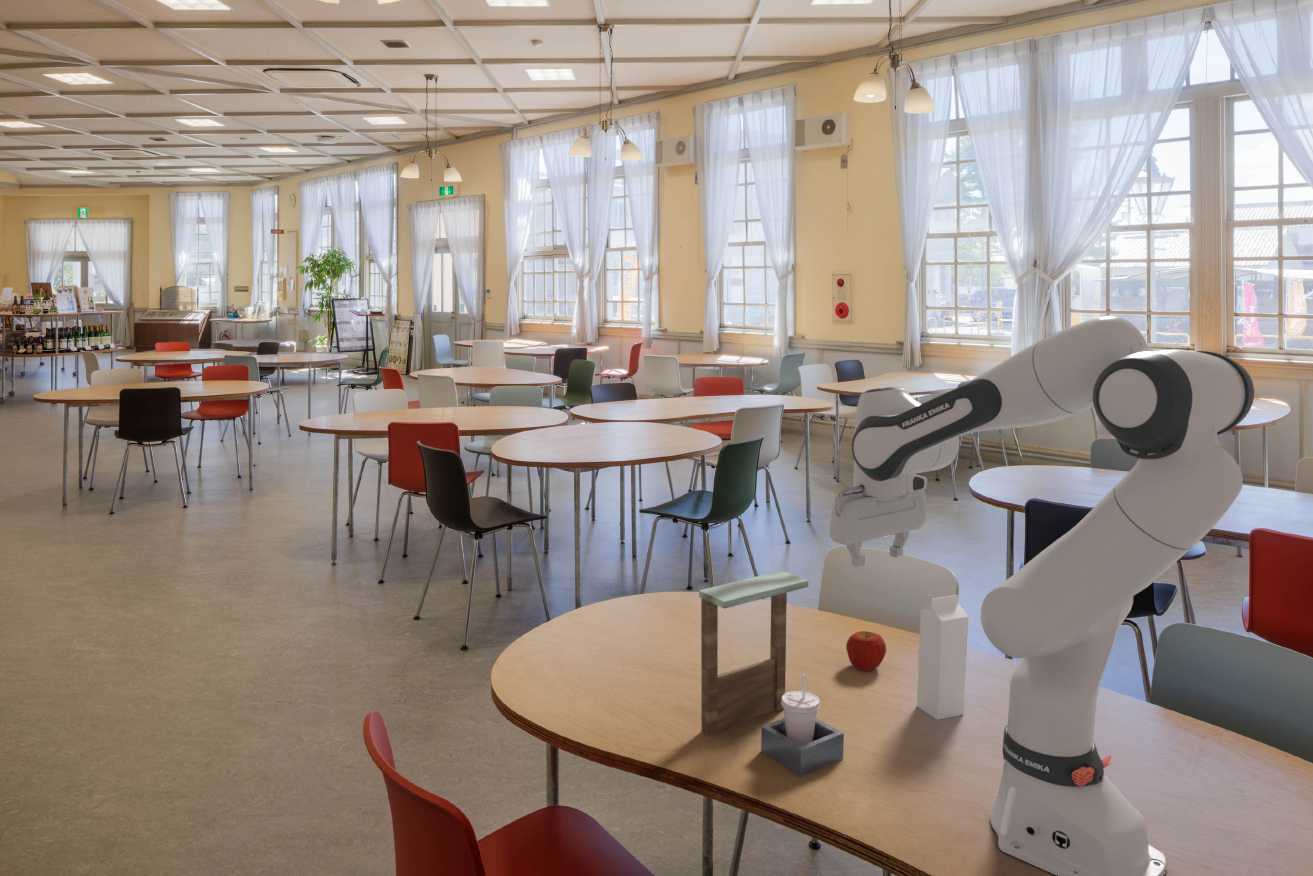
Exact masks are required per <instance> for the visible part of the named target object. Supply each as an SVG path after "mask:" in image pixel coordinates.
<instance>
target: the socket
mask: <svg viewBox="0 0 1313 876" xmlns="http://www.w3.org/2000/svg"><path fill="white" fill-rule="evenodd" d="M760 730H761V733H760V734H761V737H760V738H761V739H760V740H761V741H760V744H761V745H760V747H761V748H760V751H761V752H762V753H763V754H765V755H767V757H770V759H773V760H774V761H776V762H777V763H779V764H781V765H782V766H784V767H786V768H787V769H788V770H790V771H792V772H793V773H794V774H796V775H798V776H799V777H803V776H805V775H808V774H810V773H812V772H815V771H817V770H820V769H821V768H824V767H826V765H827V766H829V765H832V764H833V763H836V762H839V761H840V759H841V760H842V759H844V739H845V738H844V737H845V735H844V732H842V731H841V730H839V729H837V728H836V727H833V726H832V725H829V724H828V723H826V722H824V721H822V720H820V719H819V718H817V717H816V722H815V729H814V735H813V742H810V743H808V744H805V745H802V746H801V745H799V744H797V743H796V742H794V741H792V740H791V739H789V738H787V734H786V725H785V717H783V718H781V719H778V720H776V721H773V722H770V723H767V724H765V725H761V727H760Z"/></svg>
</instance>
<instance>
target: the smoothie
mask: <svg viewBox="0 0 1313 876" xmlns="http://www.w3.org/2000/svg"><path fill="white" fill-rule="evenodd" d="M801 678H802V685H801V687H802V689H801V690H793V691H786V692H785V694H784V695H783V696H782V701H781V705H782V706H783V708H784V709H783V718H785V725H786V734H787V738H789V739H791V740H792V741H794V742H796V743H797V744H799V745H801V746H802V745H805V744H808V743H810V742H813V735H814V729H815V722H816V718H817V714H818V710H819V708H820V706H821V705H820V698H819V697H818V696H817V695H816V694H814V693H811V692H809V691H806V688H807V687H806V686H807V685H806V683H807V675H806V673H802V677H801Z"/></svg>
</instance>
